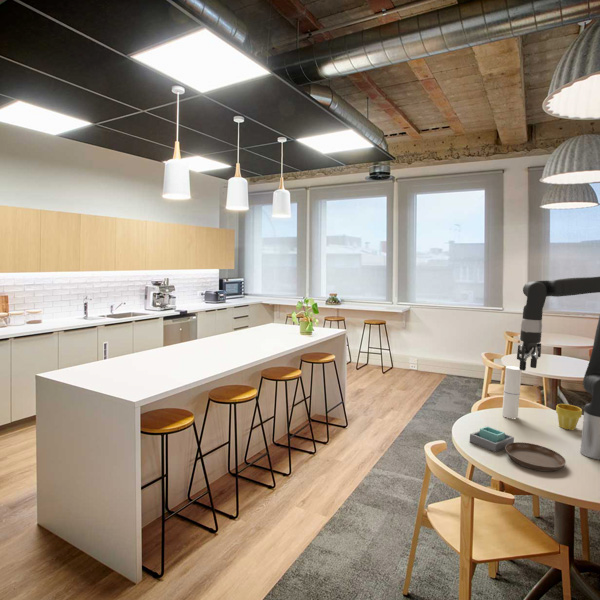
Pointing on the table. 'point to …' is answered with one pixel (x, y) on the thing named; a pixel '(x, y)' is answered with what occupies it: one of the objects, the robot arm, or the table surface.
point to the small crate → (491, 434)
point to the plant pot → (568, 416)
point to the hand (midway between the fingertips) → (527, 368)
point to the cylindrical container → (511, 392)
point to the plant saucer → (535, 456)
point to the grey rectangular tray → (488, 444)
